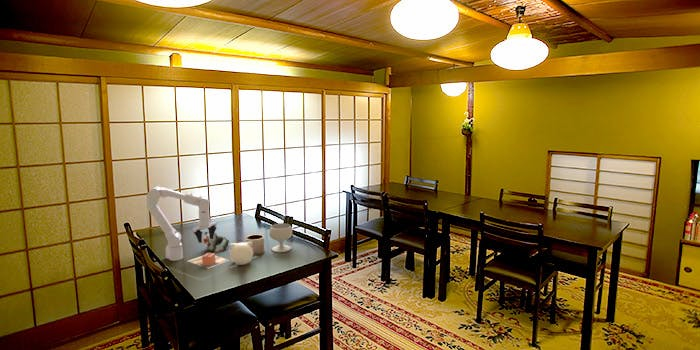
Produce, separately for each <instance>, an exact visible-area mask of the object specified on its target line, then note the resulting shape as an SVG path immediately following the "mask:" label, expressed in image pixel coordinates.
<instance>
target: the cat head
mask: <svg viewBox="0 0 700 350" xmlns="http://www.w3.org/2000/svg"><path fill="white" fill-rule="evenodd" d="M251 245H252V242H247V243H246V242H238V243H237V242H235V243H232V242H231V243H230V244H229V246H230V248H231V249H229V250H228V252H230V253H229V256H230V260H231V261H232V262H233V263H234V264H236V265H239V266H244V265H247V264H248V263H249V262H250V261H251V260H252V259H253V256H254V254H253V253H254V252H253V250H252V247H251Z"/></svg>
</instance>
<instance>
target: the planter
mask: <svg viewBox="0 0 700 350" xmlns="http://www.w3.org/2000/svg"><path fill="white" fill-rule="evenodd" d="M247 242H252V245H251V247H252V250H253V252H254V253H253V255H254V254H258V255H262V254H263V253H264V252H265V236H264V235H263V234H259V233H257V234H255V233H254V234H249V235H247V236H245V243H247Z"/></svg>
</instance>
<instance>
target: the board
mask: <svg viewBox="0 0 700 350" xmlns="http://www.w3.org/2000/svg"><path fill="white" fill-rule="evenodd" d="M207 253H212V251H210V252H209V251H208V252H207ZM202 256H203V255H200V256H198V257H195V258H192V259H189V260H187V262H189V263H191V264H194V265H196V266H200V267H202V268H204V269H208V270H209V269H212V268H214V267H217V266H219V265H221V264H224V263H227V262H230V260H231V259H227V258H224V257H221V256H218V255H215V263H214V264H213V265H203V262H202Z"/></svg>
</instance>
